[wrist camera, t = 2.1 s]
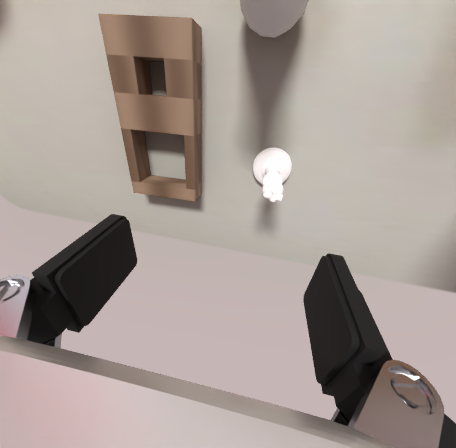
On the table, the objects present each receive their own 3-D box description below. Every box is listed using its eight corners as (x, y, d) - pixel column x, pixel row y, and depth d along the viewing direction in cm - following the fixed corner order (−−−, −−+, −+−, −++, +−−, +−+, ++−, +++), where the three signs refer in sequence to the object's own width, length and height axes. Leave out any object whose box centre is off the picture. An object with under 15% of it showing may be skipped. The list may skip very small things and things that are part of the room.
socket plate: (201, 27, 20) (191, 17, 18) (201, 192, 30) (195, 201, 27) (118, 23, 21) (98, 13, 19) (144, 184, 31) (133, 192, 28)
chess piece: (258, 143, 25) (252, 166, 17) (297, 152, 25) (311, 179, 16) (249, 180, 28) (240, 216, 19) (284, 188, 27) (290, 228, 19)
